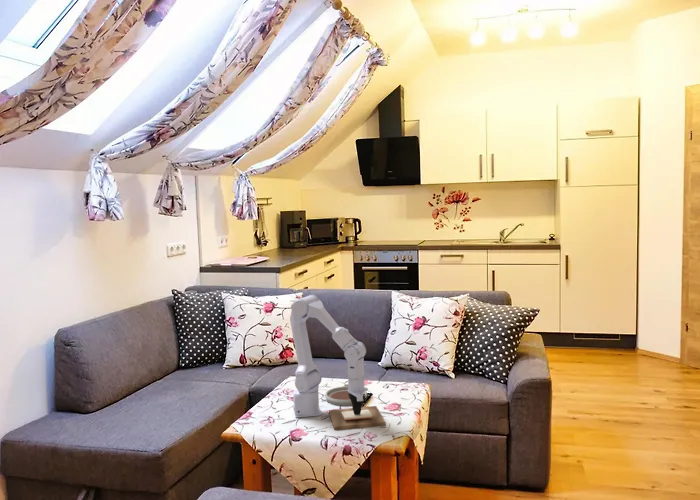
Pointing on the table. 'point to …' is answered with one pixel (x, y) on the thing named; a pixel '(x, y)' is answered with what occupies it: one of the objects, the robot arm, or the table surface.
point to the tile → (350, 415)
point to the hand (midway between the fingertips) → (357, 413)
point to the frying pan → (339, 396)
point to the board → (356, 423)
